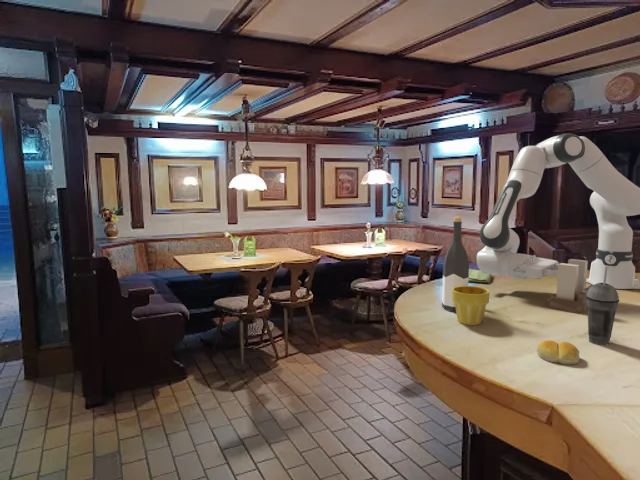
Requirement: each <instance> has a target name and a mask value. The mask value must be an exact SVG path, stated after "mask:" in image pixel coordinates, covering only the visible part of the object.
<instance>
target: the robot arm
mask: <svg viewBox="0 0 640 480" xmlns="http://www.w3.org/2000/svg"><path fill="white" fill-rule="evenodd" d="M566 164H569V166H570V167H571V169H572V170H573V171H574V173H575V174H576V175H577V176H578V177H579V179H580V180H581V181H582V183H583V184H584V185H585V186H586V187H587V188H588V189H589V190H592V191H593V192H592V193H591V195H590V197H589V204H590V206H591V208H592V209H593V210H594V212H595V215H596V219H597V224H598V225H597V226H598V245H597V247H598V248H596V252H595V255H596V256H595V258H596V259H594V260H592V261H591V264H590V270H589V277H588V278H586V283H589V284H590V285H595V284H597V283H603V281H604V273H605V267H607V276H606V283H607V284H609V285H611V286H613V287H614V288H615V289H618V290H619V289H620V290H628V289H629V290H630V289H633V290H640V280H639V279H637V278H638V276H637V275H635V274H636V266H635V265H634V263H633V262H632V260H633V256H634V255H633V251H632V248H633V237H634V231H633V229H632V227H631V226H630V225H629V223H628V219H627V217H630V216H631V217H632V216H637V215H638V216H639V215H640V187H639V186H638V185H636V184H635V183H633V182H632V181H631V180H629V179H628V178H627V177H626V176H624V175H623V174H622V173H621V172H620V171H618V170H617V168H615V166H613V164H612V163H611V162H610V161H609V160H608V158H607V157H606V155H605V154H604V153H603V152H602V151H601V150H600V148H599V147H598V146H597V145H596V144H595V143H593V142H592V140H590V139H589V138H587V137H586V136H583V135H582V136H579V135H576V133H570V132H569V133H561V134H560V135H556V136H555V135H554V136H552V137H550V138H546V139H544V140H543V141H540V142H537V143H536V144H534V145H527V146H524V147H522V148H521V149H520V151H519V152H518V153H517V155H516V157H515V159H514V161H513V164H512V166H511V168H510V172H509V174H508V177H507V180H506V182H505V184H504V185H503V187H502V189H501V191H500V193H499V195H498V197H497V199H496V202H495V204H494V207H493V209H492V212H491V214H490V215H489V217H488V219H487V220H486V221H485V222H484V223H483V225H482V226H481V228H480V231H479V239H480V241H481V243H482V244H483V245H484V247H483V248H482V249H480V251H478V252H477V254H476V257H475V260H476V266H477V268H478V269H479V270H481V271H482V272H485V273H488V274H491V275H494V276H507V277H510V278H513V279H520V280H528V279H534V280H540V279H542V278H545V277H557V278H558V264H560V262H559V261H558V260H556V259H555V260H554V259H552V258H550V259H549V258H544V257H539V256H537V257H536V255H535V254H534V255H533V254H528V253H527V254H526V253H518V250H519V247H520V243H521V241H520V236H519V234H518V233H516V232H515V231H514V230H513V229H512V228H510V225H509V224H510V219H511V217H512V214H513V212H514V209H515V207H516V205H517V203H518V201H519V200H520V199H527V198H530V197H532V196H534V195H535V194H536V192H537V190H538V188H539V187H540V184H541V181H542V178H543V174H544V171H545V170H547V169H550V168H552V169H553V168H556V167H560V166H562V165H563V166H564V165H566Z"/></svg>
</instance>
